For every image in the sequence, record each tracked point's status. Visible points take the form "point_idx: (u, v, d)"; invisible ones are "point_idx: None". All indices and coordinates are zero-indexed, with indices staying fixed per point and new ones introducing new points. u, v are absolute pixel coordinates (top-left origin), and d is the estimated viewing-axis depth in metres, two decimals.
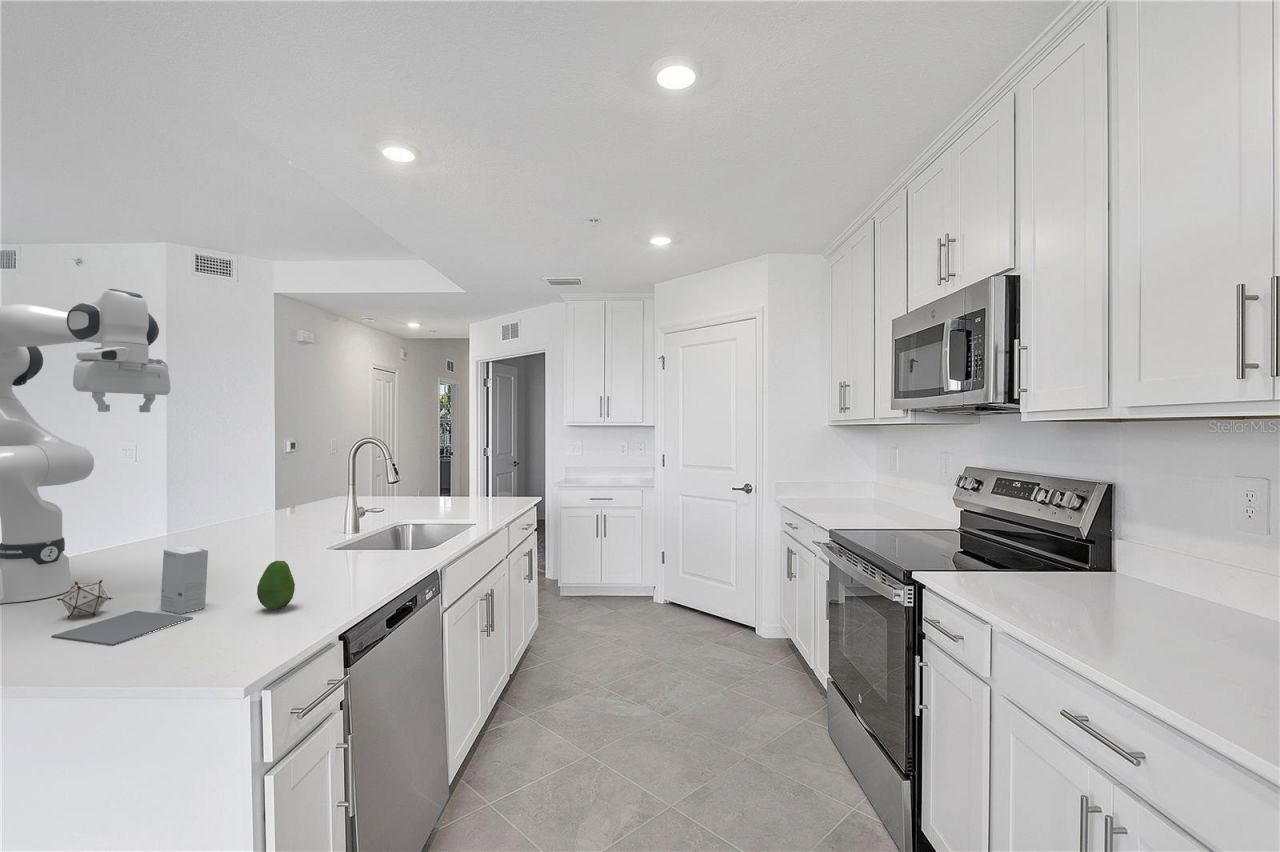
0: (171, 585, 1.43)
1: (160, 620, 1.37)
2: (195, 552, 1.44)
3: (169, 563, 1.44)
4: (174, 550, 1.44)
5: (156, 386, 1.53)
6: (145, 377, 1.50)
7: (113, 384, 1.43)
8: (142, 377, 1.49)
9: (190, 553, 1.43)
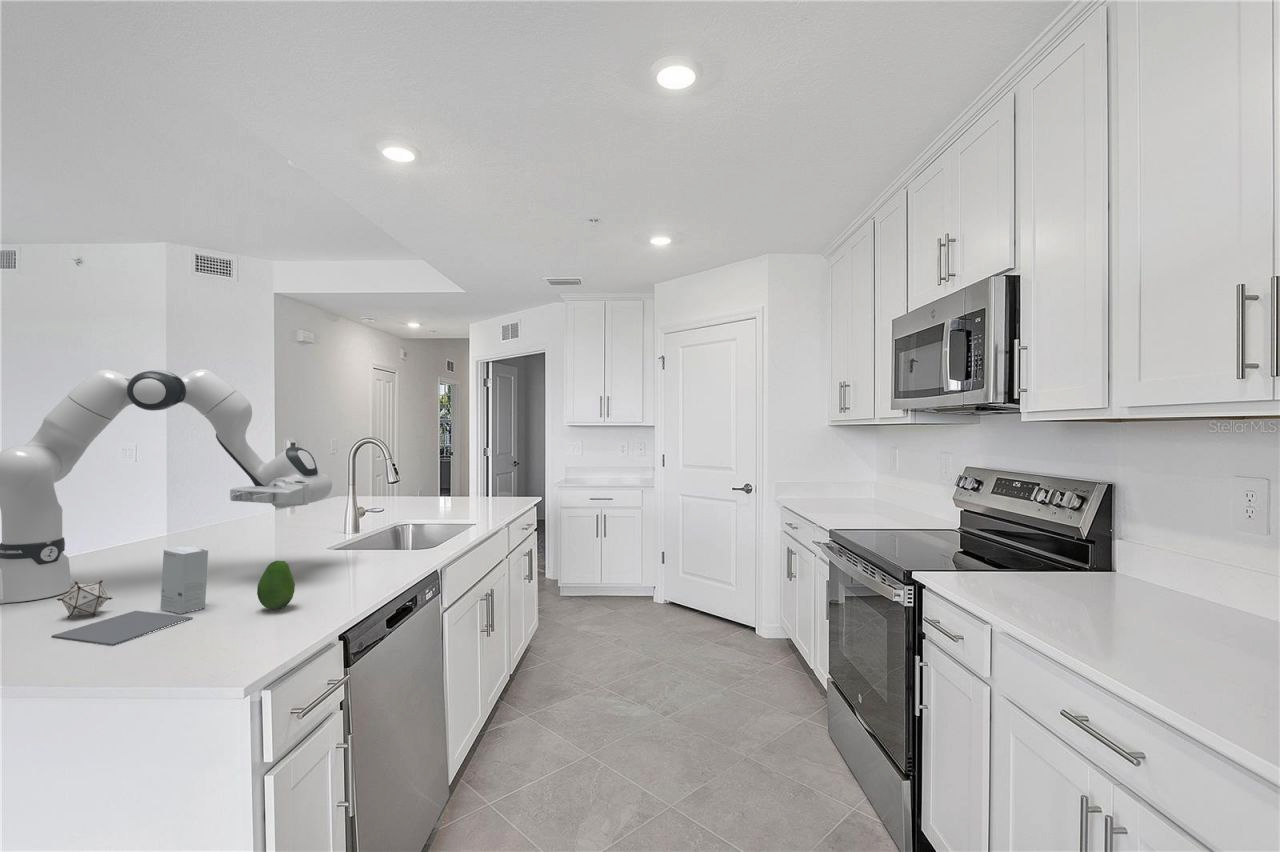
0: (171, 585, 1.43)
1: (160, 620, 1.37)
2: (195, 552, 1.44)
3: (169, 563, 1.44)
4: (174, 550, 1.44)
5: None
6: None
7: None
8: None
9: (190, 553, 1.43)
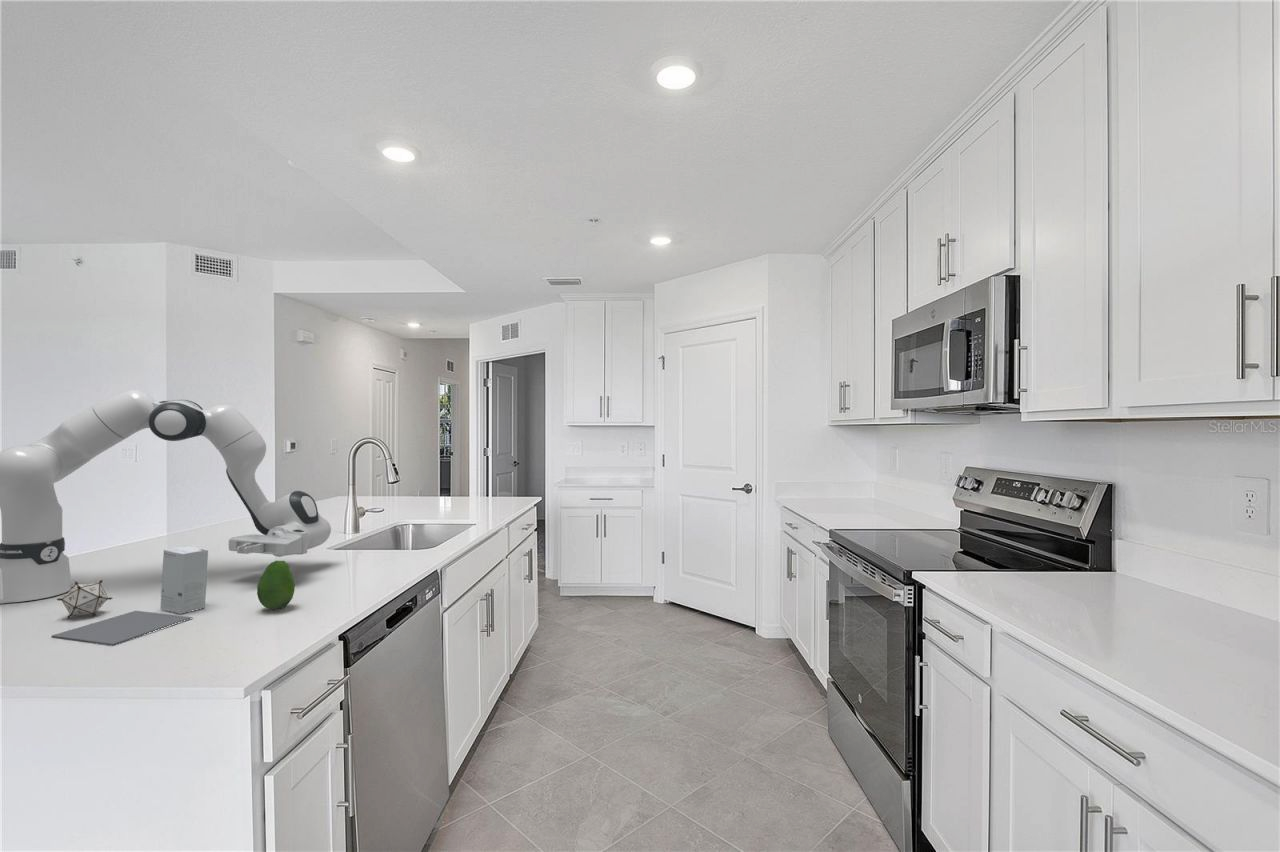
0: (171, 585, 1.43)
1: (160, 620, 1.37)
2: (195, 552, 1.44)
3: (169, 563, 1.44)
4: (174, 550, 1.44)
5: None
6: None
7: None
8: None
9: (190, 553, 1.43)
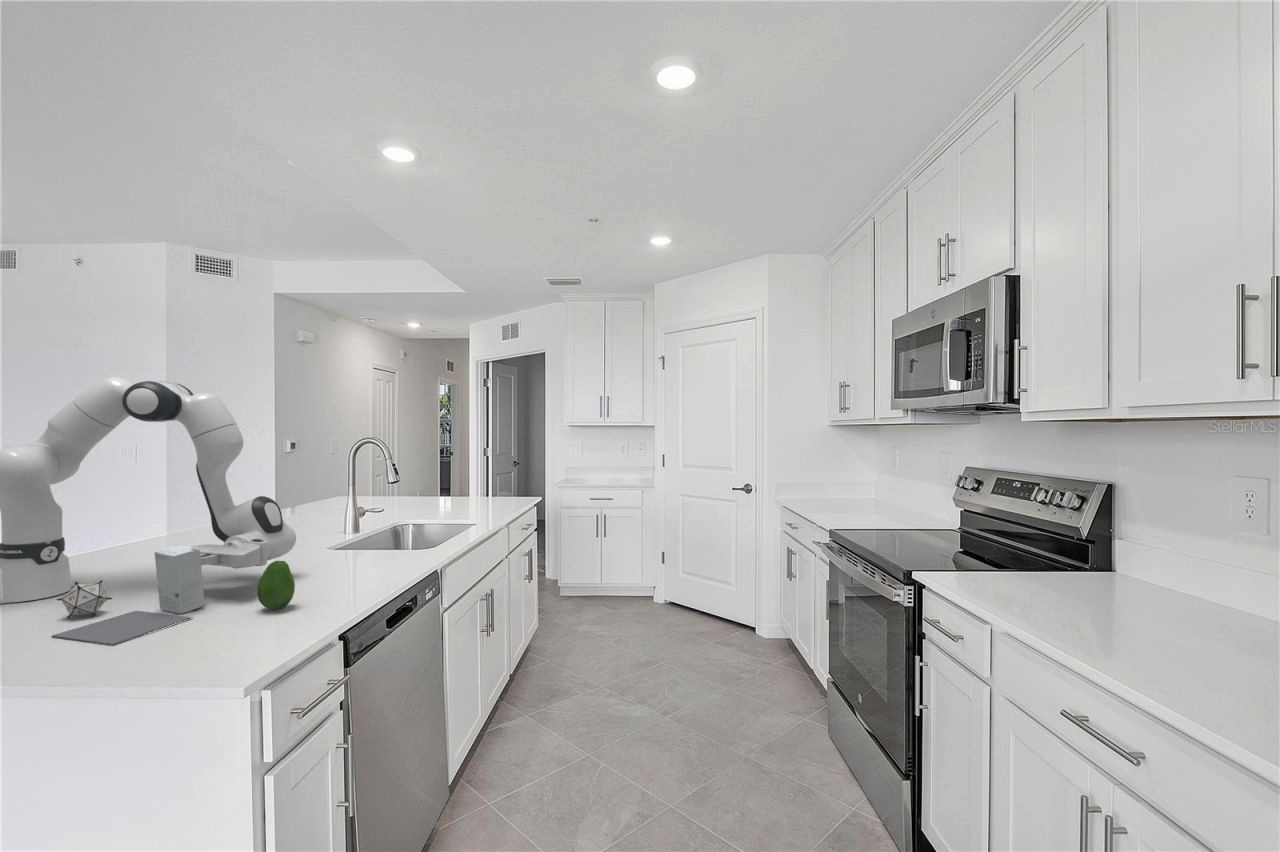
0: (167, 586, 1.42)
1: (160, 620, 1.37)
2: (186, 553, 1.42)
3: (161, 565, 1.42)
4: (165, 552, 1.42)
5: None
6: None
7: None
8: None
9: (181, 554, 1.41)
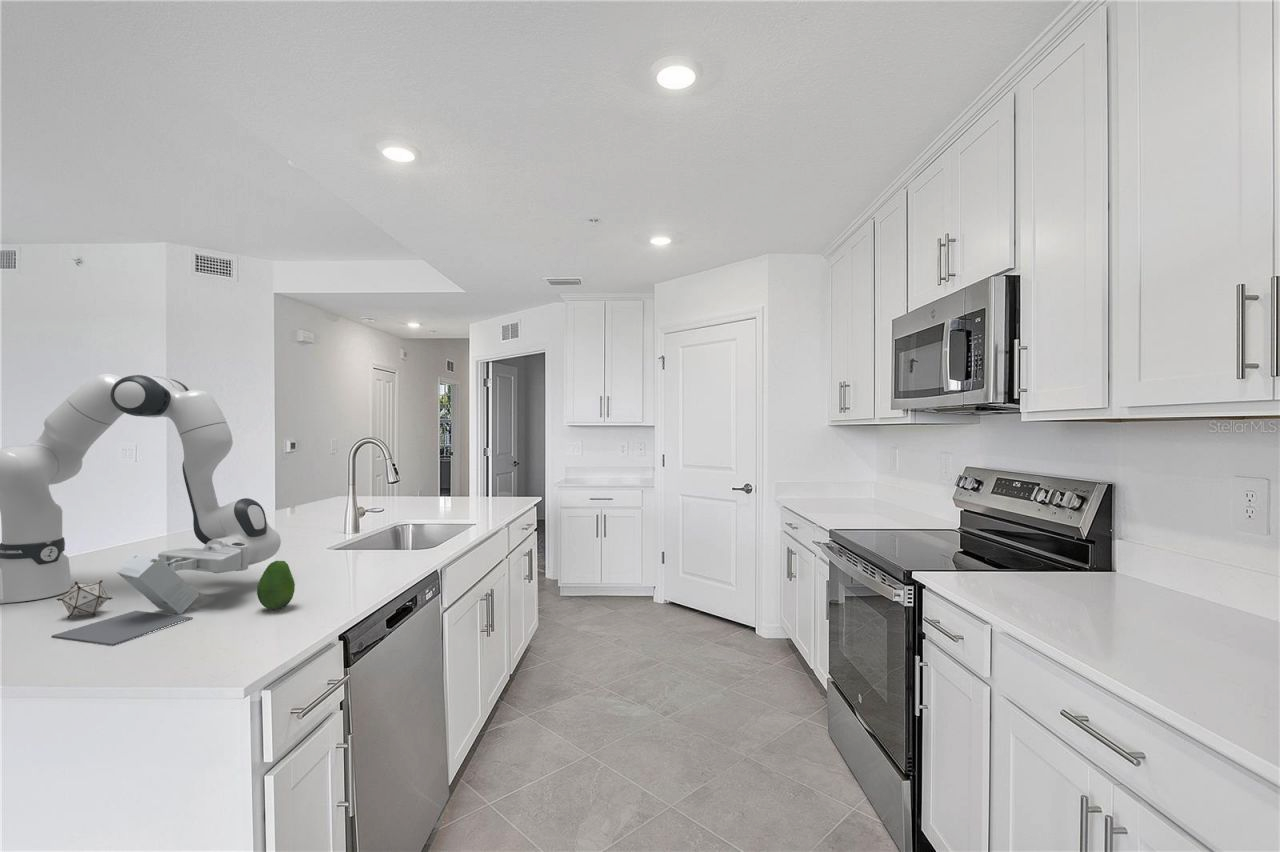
0: (151, 596, 1.39)
1: (160, 620, 1.37)
2: (148, 568, 1.35)
3: (132, 582, 1.36)
4: (127, 571, 1.35)
5: None
6: None
7: None
8: None
9: (144, 572, 1.34)
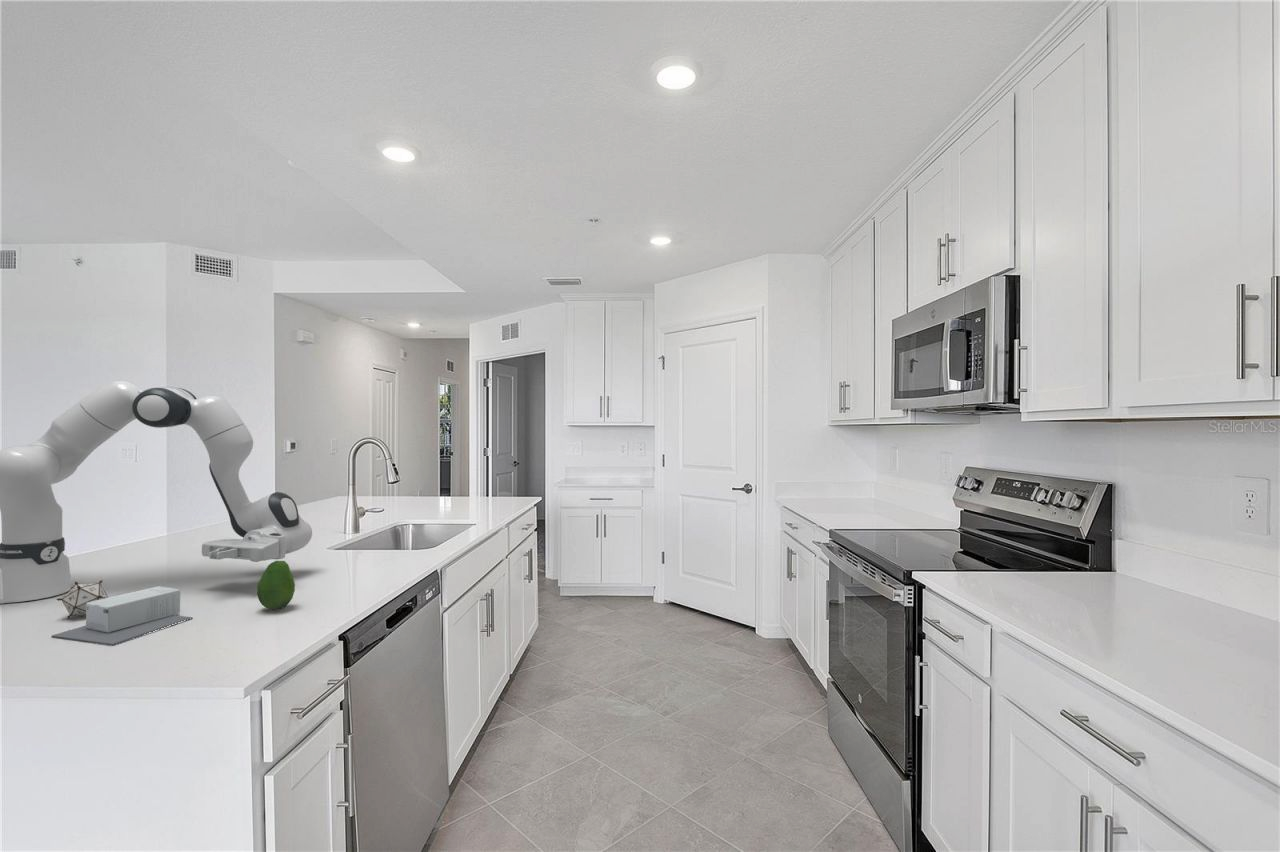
0: None
1: (160, 620, 1.37)
2: (108, 620, 1.28)
3: None
4: (94, 626, 1.30)
5: None
6: None
7: None
8: None
9: (108, 625, 1.28)
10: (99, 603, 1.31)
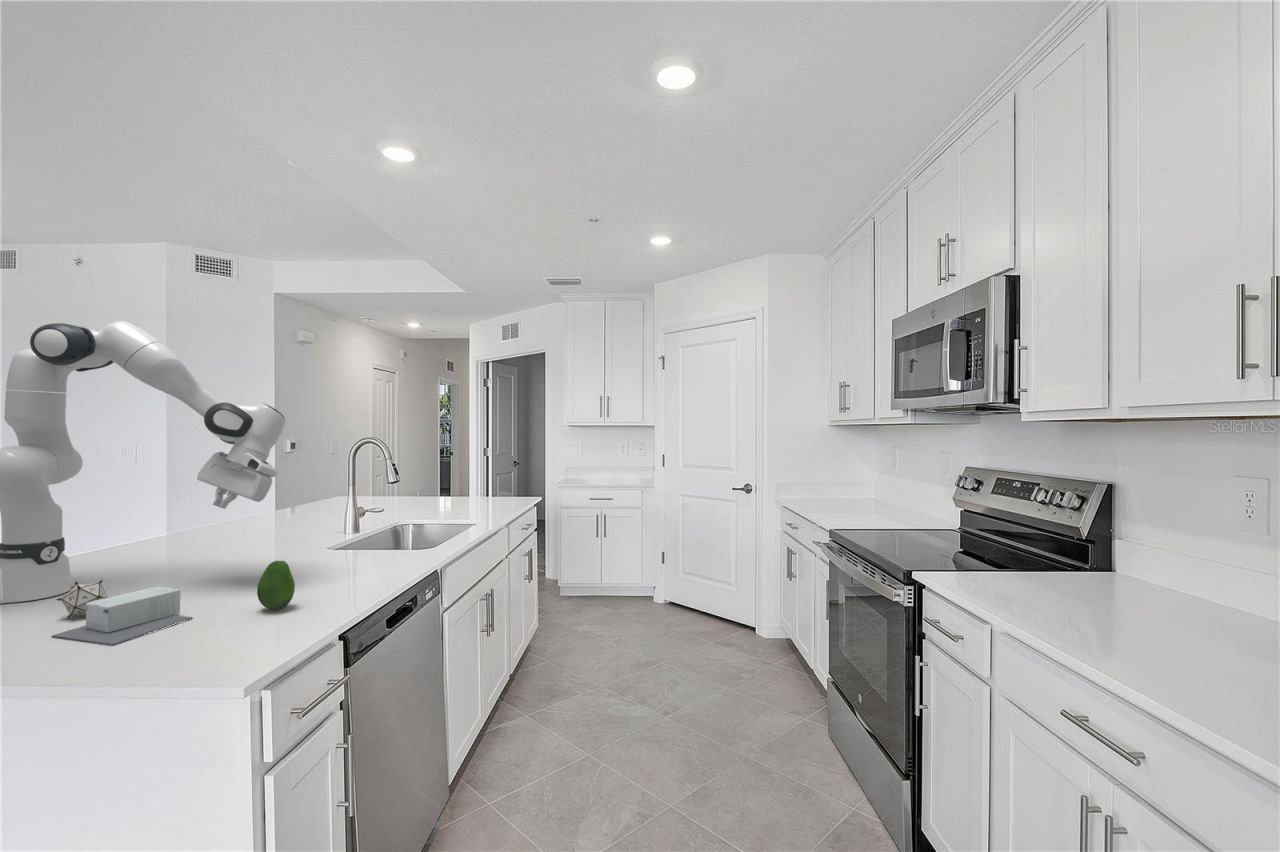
0: None
1: (160, 620, 1.37)
2: (108, 620, 1.28)
3: None
4: (94, 626, 1.30)
5: None
6: None
7: None
8: None
9: (108, 625, 1.28)
10: (99, 603, 1.31)
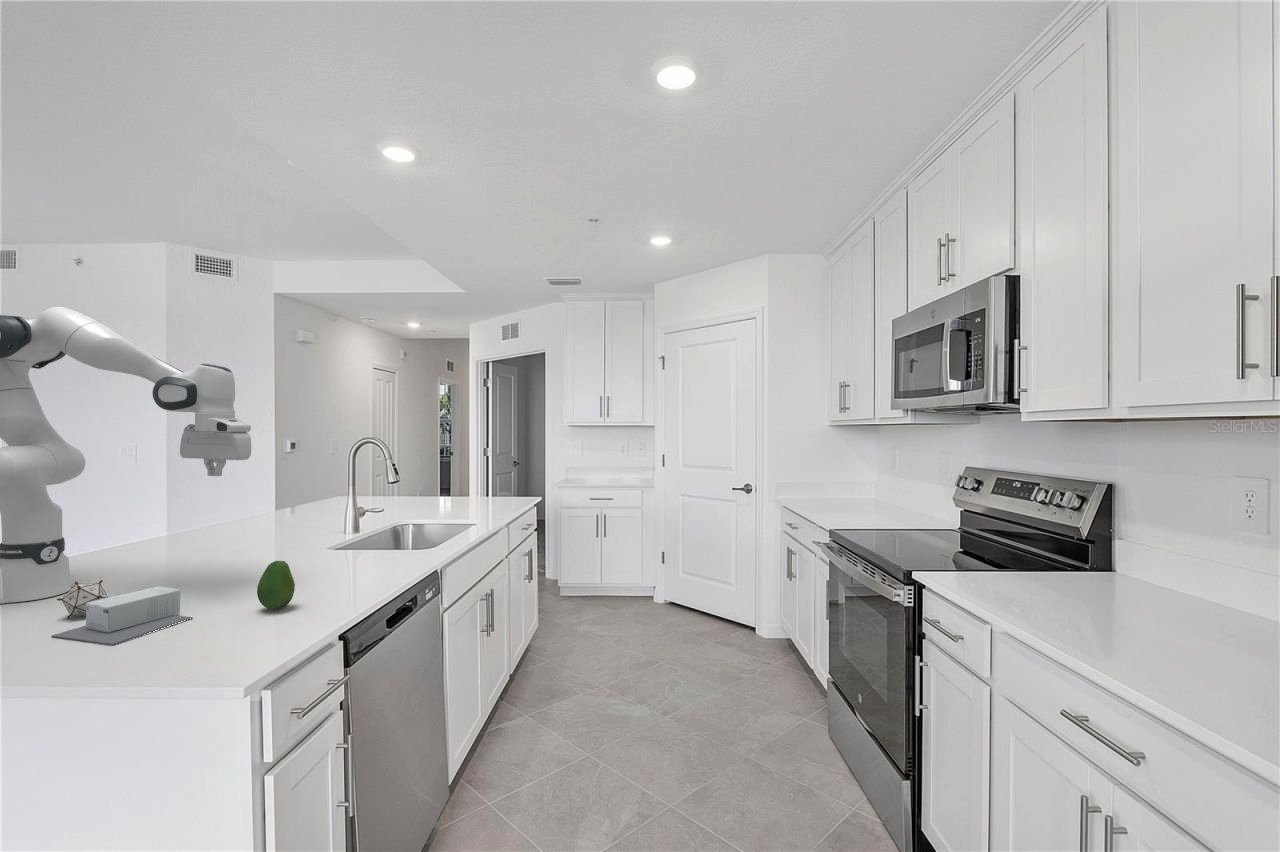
0: None
1: (160, 620, 1.37)
2: (108, 620, 1.28)
3: None
4: (94, 626, 1.30)
5: None
6: None
7: None
8: None
9: (108, 625, 1.28)
10: (99, 603, 1.31)
